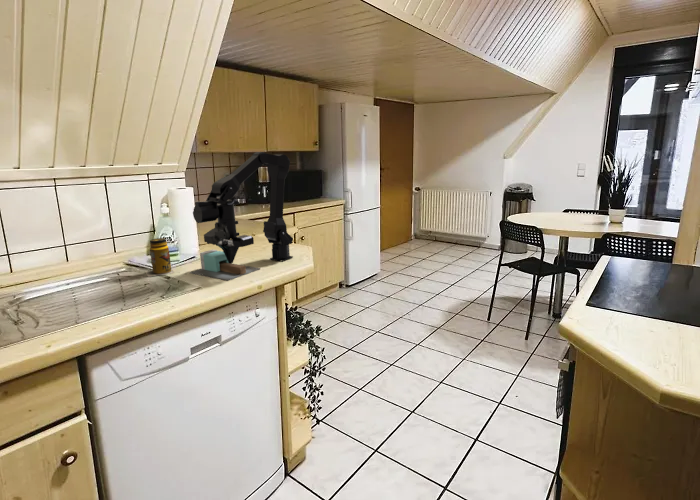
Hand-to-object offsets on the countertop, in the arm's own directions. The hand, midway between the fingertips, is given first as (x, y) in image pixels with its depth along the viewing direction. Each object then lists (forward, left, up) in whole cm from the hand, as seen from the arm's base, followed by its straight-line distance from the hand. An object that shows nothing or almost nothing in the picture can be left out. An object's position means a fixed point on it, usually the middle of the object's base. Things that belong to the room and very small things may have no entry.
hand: (230, 263), depth 140 cm
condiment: (+12, -23, -4) cm, 26 cm away
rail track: (0, -3, -3) cm, 5 cm away
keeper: (0, -7, -3) cm, 7 cm away
